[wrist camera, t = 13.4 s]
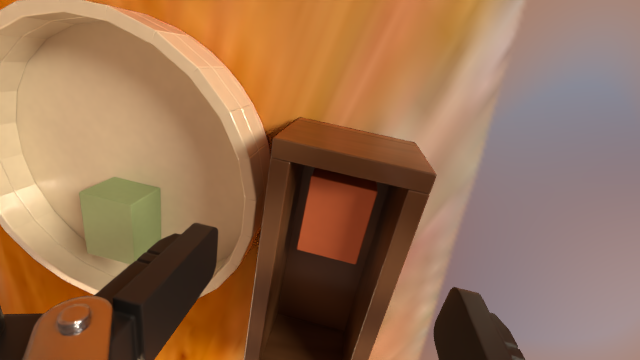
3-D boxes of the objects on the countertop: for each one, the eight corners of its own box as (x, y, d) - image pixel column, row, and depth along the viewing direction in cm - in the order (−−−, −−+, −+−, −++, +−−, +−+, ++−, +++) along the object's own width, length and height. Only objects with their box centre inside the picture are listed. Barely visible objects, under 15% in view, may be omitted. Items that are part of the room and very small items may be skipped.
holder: (299, 116, 15) (272, 137, 11) (416, 142, 15) (437, 174, 10) (267, 309, 20) (241, 377, 16) (353, 332, 20) (350, 408, 16)
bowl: (-12, -18, 15) (-97, -37, 12) (293, 44, 14) (275, 39, 11) (42, 242, 21) (-6, 268, 18) (257, 299, 20) (240, 336, 17)
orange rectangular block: (318, 159, 15) (310, 175, 13) (376, 173, 15) (377, 191, 13) (305, 225, 17) (296, 249, 14) (357, 238, 16) (356, 265, 14)
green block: (114, 176, 18) (77, 191, 15) (160, 187, 17) (131, 205, 15) (118, 231, 19) (86, 253, 17) (162, 243, 19) (135, 266, 17)
